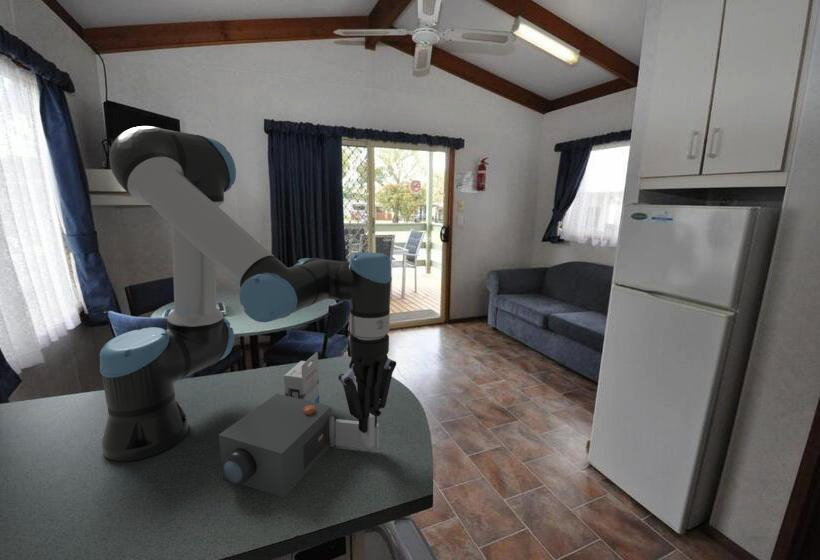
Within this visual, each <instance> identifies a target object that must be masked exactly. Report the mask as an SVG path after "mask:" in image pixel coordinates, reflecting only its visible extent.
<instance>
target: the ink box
mask: <svg viewBox="0 0 820 560" xmlns="http://www.w3.org/2000/svg"><path fill="white" fill-rule="evenodd" d="M318 354H319V352H318V351H316V352H314V354H312V356H310V357H309V358H308V359H307V360H306V361H305V360H300V361H298V363H297V364H296V365H295V366H293V367H292V368H291V369H290V370H288V372H287V373H285V374H284V375H283V381H284V383H283V384H284V395H285V396H289V397H294V398H298V399H302V400H307V401H311V402H315V403H319V404H320V376H319V355H318Z"/></svg>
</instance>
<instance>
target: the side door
mask: <svg viewBox="0 0 820 560" xmlns="http://www.w3.org/2000/svg"><path fill="white" fill-rule="evenodd" d="M334 423H335V446H339V447H341V446H342V447H349V448H358V449H368V450H376V451H377V450H379V449H378V448H379V445H380V444H379V440H380V439H379V435H380V434H379V430H380V427H379V426H380V425H379V422H377V425H376V427H375V429H374V445H373V446H372V447H370V448H369V447H367V446H366V445H365V444H363V443H362V442H361V431H360V430H359V420H350V419H349V420H348V419H339V418H338V419H337V418H336V420H335V421H334Z"/></svg>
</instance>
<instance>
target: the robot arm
mask: <svg viewBox="0 0 820 560" xmlns="http://www.w3.org/2000/svg"><path fill="white" fill-rule="evenodd" d="M108 156H109V157H108V158H109V165H110V166H109V167H110V168H111V169H110V170H111V173H112V175H113V176H114V177H115V179H116V181H117V182H118V184H119V185H120V186H121V188H123V190H124V191H125V192H127V194H129V195H130V196H131V197H132V198H133V199H134V200H135V201H137V202H140V203H142V204H147V205H148V204H149V205H150V206H151V207H152V208H153V209H154V210H155V211H156V212H157V213H158V214H159V215H160V216H162V217H163V219H165V220H166V221H167V222H169V224H170V225H171V241H172V243H171V244H172V245H171V246H172V265H173V266H172V269H173V271H172V274H173V275H172V276H173V301H174V304H173V306H174V310H173V311H170V313H169V314H168V315H167V316H166V326H167V327H166V329H165V328H162V327H154V326H153V327H152V326H151V327H144V328H143V327H142V328H141V329H134V330H131V331H130V330H129V331H127V332H124V333H122V334H120V335H117V336H115V337H113V338H112V339H110V340H109V341H107V342H106V343H105V344H104V345H103V346H102V348H101V350H100V352H99V372H100V374H101V378H102V386H103V391H104V396H105V403H106V406H107V412H108V413H107V414H108V416H107V420H106V424H105V428H104V433H103V436H102V440H101V445H102V446H101V447H102V453H103V455H104V457H105V458H107V459H108V460H110V461H113V462H132V461H139V460H140V461H141V460H143V459H144V460H145V459H147V458H151V457H154V456H155V455H159V454H161V453H163V452H165V451H167V450H169V449H171V448H172V447H174V446H175V445H177V444H178V443H179V442H181V441H182V440H183V439H184V437H185V436H186V435H187V434H188V431H189V420H188V416H187V415H186V413H185V411H184V409H183V408H182V406H181V404H180V403H179V401H178V400H177V398H176V392H175V383H177V382H178V381H180V380H182V379H184V378H187V377H188V376H190V375H192V374H195V373H197V372H199V371H201V370H203V369H206V368H208V367H211V366H214V365H215V364H217V363H218V362H219V361H221V360H223V359H225V358H226V357H227V356H228V355H229V354H230V353H231V352H232V350H233V349H232V348H233V347H234V343H235V333H234V329H233V327H231V323H230V321H229V320H228V319H227V318H226V317H224V313H223V312H222V311H221V310H220V309H218V307H217V268H218V269H219V270H221V271H222V272H223V274H225V275H226V276H227V277H228V278H229V279H230V280H231V281H232V282H234V283H235V284H236V286H238V287H239V289H240V290H239V292H238V293H239V296H238V297H239V302H240V305H242V307H243V308H244V313H245V314H246V316H248V317H249V318H250V319H251V320H253V321H255V322H259V323H269V322H270V323H271V322H272V321H273V322H274V321H276V320H280V319H284V318H287V317H289V316H290V315H291V314H293V313H295V312H298V311H300V310H302V309H305V308H308V307H310V306H313V305H315V304H319V303H320V302H323V301H324V300H334V301H340V302H349V333H350V335H349V353H350V357H351V360H350V362H349V364H348V370H347V371H346V372H345V374H344V373H340V374H339V375H338V380H339V381H340V383H341V384H342V385H343V390H344V393H345V398H346V402H347V407H348V410H349V415H351V416H352V417H354V418H355V419H357V421H359V430H360V431H361V442H362V443H363V444H365V445H366V446H367V447H369V448H370V447H372V446H373V445H374V429H375V427H376V425H377V423H378V417H380V416H381V414H382V411H380V409H384V408H385V407H386V404H387V400H388V394H389V390H390V386H391V383H392V382H391V381H392V377H393V374H394V370H395V368H396V366H397V362H396V360H393V359H391V358H388V357H389V356H388V354H389V351H390V349H389V348H390V335H389V332H390V317H391V315H390V314H391V313H390V312H391V308H390V307H391V306H390V305H391V289H392V288H391V287H392V281H393V280H392V279H393V277H392V268H391V267H392V266H391V265H392V264H391V263H392V262H391V259H390V257H389V256H388V255H387V254H384V253H381V252H364V251H363V252H355V253H353V254H352V255H351V257H350V261H341V260H340V261H339V260H331V259H324V258H319V257H311V258H309V257H305V258H300V259H299V260H297V262H296V263H295V264H294V265H293V266H290V267H288V266H286V265H285V264H284V263H283V262H282V261H281V260H279V259H278V258H277V257H276V256H275V255H274V254H273V253H272V252H270V251H269V250H268V249H267V248H265V246H263V245H262V244H261V243H260V242H259V241H258V240H257V239H255V237H253V236H252V235H251V234H250V233H249V232H247V230H246V229H244V228H243V227H242V226H241V225H239V223H237V222H236V221H235V220H234V219H233V218H232V217H231V216H229V214H228V213H226V212H225V210H223V209H222V208H221V207H220V206H221V205H222V204H224V200H225V193H226V192H228V191H229V190H231V188H232V187H233V185H235V181H236V178H237V168H236V165H235V160H234V158H233V155H231V152H230V151H228V150H227V147H226V146H225V145H224V144H222V143H221V142H219V141H218V140H217V139H214V138H210V137H206V136H204V135H200V134H193V133H187V132H182V131H175V130H170V129H165V128H161V127H158V126H157V127H156V126H150V125H141V126H136V127H135V126H134V127H131V128H129V129H127V130H124V131H123V132H121V133H120V134H119V135H117V137H116V138H115V139H114V141H113V142H112V143H111V146H110V149H109V155H108ZM355 383H356V384H355ZM356 385H357V386H356Z"/></svg>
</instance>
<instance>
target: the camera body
mask: <svg viewBox="0 0 820 560" xmlns="http://www.w3.org/2000/svg"><path fill="white" fill-rule="evenodd" d="M332 415H333V414H332V406H331V405H327V404H325V403H324V404H323V403H320V402H319V403H315V402H311V401H307V400H302V399H298V398H294V397H289V396H285V394H280V393H275V394H274V395H272V396H271V397H270V398H269V399H267V400H266V401H264V402H263V403H261V404H260V405H258V406H257V407H256V408H255V409H253V410H252V411H250V412H249V413H247V414H246V415H244V416H243V417H242V418H240V419H239V420H237V421H236V422H234V424H232V425H230V426H229V427H227V428H226V429H225V430H223V431H222V432H220V433H219V434H218V442H219V452H220V463H221V464H220V465H221V474H222V478H225V479H226V480H227V481H228V482H229V483H230V484H232V485H235V486H243V485H244V486H247V487H250V488H254V489H256V490H259V491H261V492H262V491H263V492H265V493H269V494H271V495H273V496H276V497H280V498H283V499H285V498H286V497H287V496H288V494H289V493H290V492H291V491H293V489H294V488H295V487H296V485H298V483H299V482H300V481H301V480H302V478H304V476H306V474H307V473H308V472H309V471H310V470H311V469H312V467H313V466H314V465H315V464H316V463H317V462H318V460H319V459H320V458H321V457H322V456H323V455H324V454H325V453H326V451H328V449H329V448H331V447H333V448H334V447H335V446H336V429H335V417H334V416H332Z"/></svg>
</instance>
